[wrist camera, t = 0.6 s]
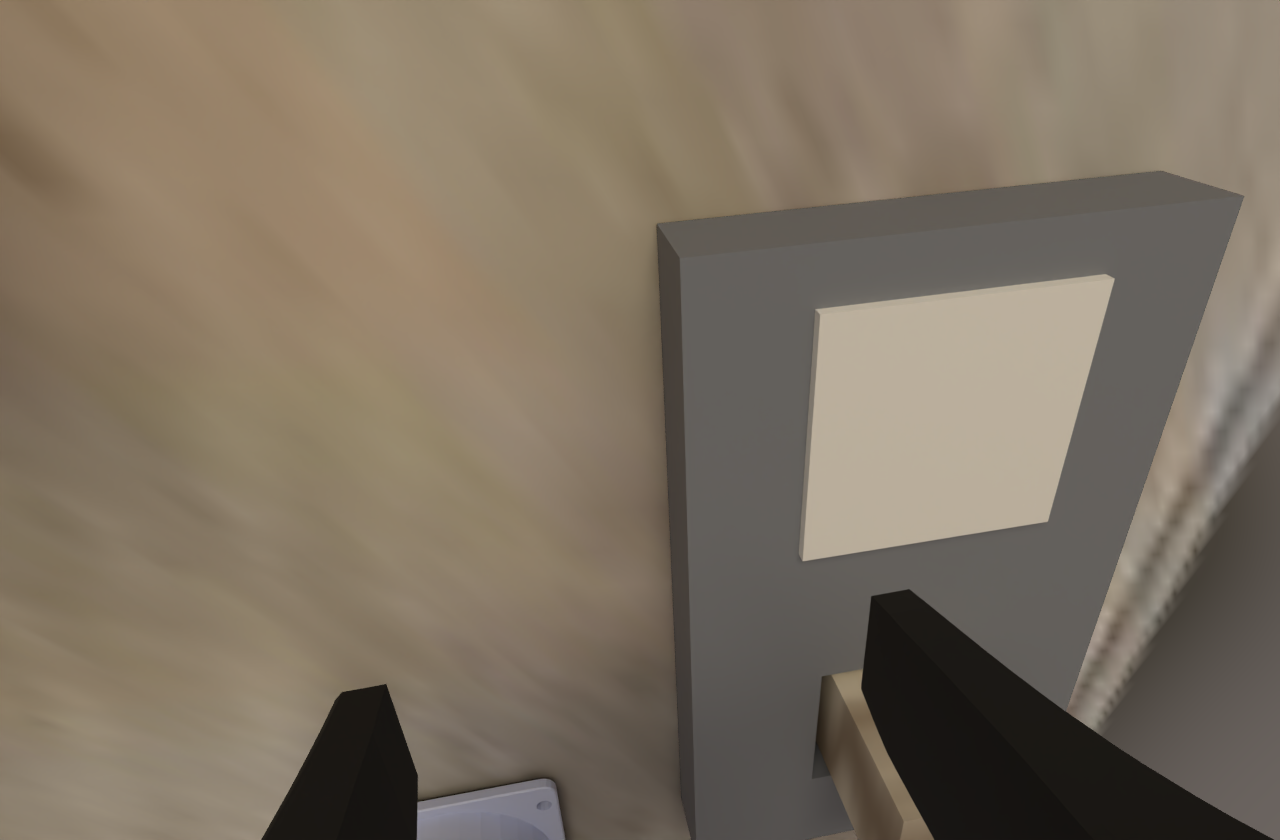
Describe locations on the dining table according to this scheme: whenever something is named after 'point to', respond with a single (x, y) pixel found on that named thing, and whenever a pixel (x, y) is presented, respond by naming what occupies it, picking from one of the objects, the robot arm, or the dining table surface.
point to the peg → (863, 764)
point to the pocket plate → (906, 446)
